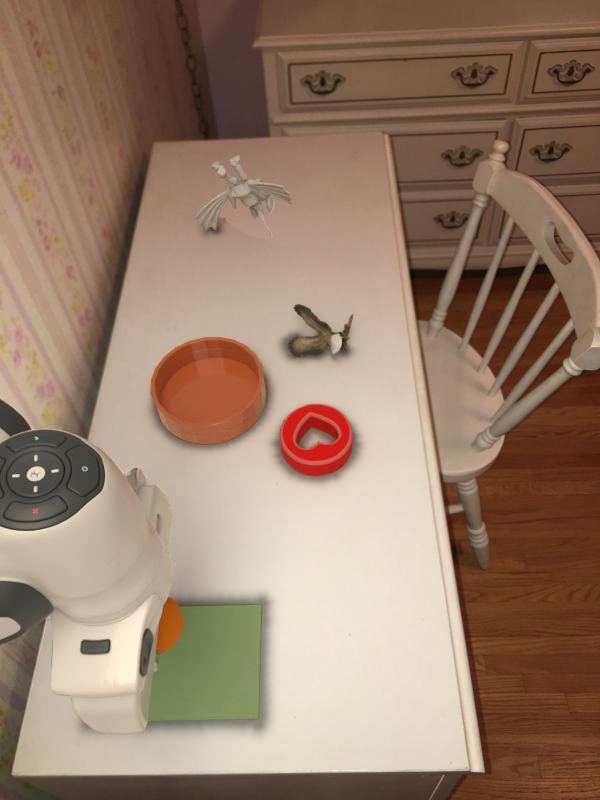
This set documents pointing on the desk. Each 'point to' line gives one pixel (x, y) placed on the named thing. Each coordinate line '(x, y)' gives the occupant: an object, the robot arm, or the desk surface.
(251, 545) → the desk surface
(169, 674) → the felt mat
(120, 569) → the robot arm
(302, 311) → the eagle figurine
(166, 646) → the orange
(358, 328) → the desk surface
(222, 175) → the grey winged dragon figurine
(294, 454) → the decorative ornament
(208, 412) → the pot
